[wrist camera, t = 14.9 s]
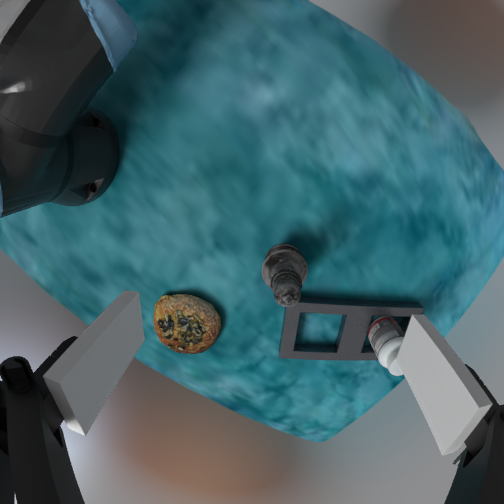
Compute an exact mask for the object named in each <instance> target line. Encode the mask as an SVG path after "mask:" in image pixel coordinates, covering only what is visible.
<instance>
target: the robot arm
mask: <svg viewBox="0 0 504 504" xmlns="http://www.w3.org/2000/svg"><path fill="white" fill-rule="evenodd" d="M137 38H138V32H137V28H136V26H135V24H134V23H133V21H132V20H131V18H130V17H129V16H128V14H127V13H126V12H125V11H124V10H123V8H122V7H121V6H120V5H119V4H118V3H117V2H116V1H115V0H0V218H2V217H4V216H7V215H10V214H13V213H16V212H19V211H22V210H25V209H28V208H31V207H34V206H37V205H40V204H43V203H46V202H52V203H57V204H61V205H65V206H80V205H83V204H87V203H90V202H92V201H94V200H96V199H97V198H98V197H100V196H101V195H102V194H103V193H104V192H105V191H106V189H107V188H108V187H109V185H110V183H111V181H112V179H113V177H114V175H115V172H116V169H117V164H118V158H119V145H118V138H117V135H116V131H115V129H114V127H113V125H112V123H111V122H110V120H109V119H108V118H107V117H106V116H105V115H104V114H102V113H100V112H99V111H96V110H93V109H87V108H86V107H87V105H88V104H89V102H90V101H91V100H92V98H93V97H94V96H95V94H96V93H97V92H98V90H99V89H100V88H101V87H102V85H103V84H104V83H105V82H106V80H107V79H108V78H109V77H110V75H111V74H112V73H115V72H116V70H117V66H118V65H119V64H120V62H121V61H122V60H123V59H124V57H125V56H126V55H127V54H128V53H129V51H130V50H131V49H132V48H133V47H134V45H135V43H136V41H137ZM144 340H145V338H144V331H143V323H142V315H141V307H140V297H139V292H134V291H127V290H125V291H124V292H123V293H122V294H121V295H120V296H119V297H118V298H116V299H115V300H114V301H113V302H112V303H111V304H110V305H109V306H108V307H107V308H106V309H105V310H104V311H103V312H102V313H101V314H100V315H99V317H98V318H97V319H96V320H95V321H94V322H93V323H92V324H91V325H90V326H89V327H88V328H87V329H86V330H85V331H84V332H83V333H82V334H81V335H80V336H79V337H75V336H73V337H71V338H69V339H67V340H65V341H64V342H63V343H61V345H60V346H59V347H58V348H57V350H55V351H54V352H53V353H52V354H51V356H49V357H48V358H47V359H46V360H45V361H44V362H43V363H42V364H41V365H40V367H39V368H38V369H37V370H36V371H35V372H34V373H33V371H32V369H31V366H30V364H29V362H28V360H26V359H25V358H23V357H20V356H14V357H10V358H8V359H6V360H4V361H3V362H2V363H1V364H0V376H1V378H2V380H3V381H0V504H14V495H15V494H16V500H17V504H85V503H84V500H83V498H82V495H81V492H80V489H79V487H78V484H77V481H76V478H75V475H74V471H73V468H72V465H71V462H70V458H69V455H68V451H67V447H66V443H65V439H64V435H63V431H62V429H61V426H60V425H61V423H62V422H63V420H65V422H66V424H67V426H68V428H69V429H71V430H73V431H75V432H77V433H80V434H82V435H85V436H86V434H87V433H88V431H89V429H90V427H91V426H92V424H93V422H94V421H95V419H96V417H97V416H98V414H99V412H100V411H101V409H102V407H103V406H104V404H105V402H106V400H107V399H108V397H109V396H110V394H111V393H112V391H113V389H114V387H115V386H116V384H117V383H118V381H119V380H120V378H121V376H122V375H123V373H124V372H125V370H126V368H127V367H128V365H129V364H130V362H131V360H132V359H133V357H134V356H135V354H136V353H137V351H138V350H139V348H140V347H141V345H142V344H143V342H144ZM396 360H397V362H398V364H399V366H400V368H401V370H402V372H403V374H404V376H405V378H406V379H407V381H408V383H409V385H410V387H411V389H412V391H413V393H414V395H415V397H416V399H417V401H418V403H419V406H420V408H421V410H422V412H423V414H424V416H425V418H426V420H427V422H428V424H429V427H430V429H431V431H432V433H433V436H434V438H435V440H436V442H437V445H438V447H439V449H440V452H441V454H442V456H443V455H446V454H450V453H452V452H456V451H457V450H458V449H459V448H460V446H461V445H462V444H463V443H464V442H465V444H466V446H467V447H466V448H465V450H464V451H463V452H462V453H461V454H460V455H459V456H458V457H457V459H456V460H455V461H454V463H453V464H456V463H457V461H459V460H460V463H459V464H458V469H457V472H456V475H455V478H454V480H453V483H452V486H451V489H450V491H449V494H448V496H447V498H446V501H445V503H444V504H504V405H500V406H499V404H498V403H497V402H496V400H495V399H494V397H493V396H492V394H491V393H490V391H489V390H488V389H487V387H486V386H485V385H484V383H483V382H482V380H481V379H479V376H478V375H477V374H476V372H475V371H474V370H473V369H472V368H470V367H469V366H468V365H466V364H464V363H463V362H462V361H461V359H460V358H459V357H458V355H457V354H456V353H455V351H454V350H453V349H452V348H451V346H450V345H449V344H448V343H447V341H446V340H445V339H444V338H443V336H442V335H441V334H440V333H439V331H438V330H437V329H436V328H435V327H434V325H433V324H432V323H431V322H430V321H429V319H428V318H427V317H426V316H425V315H412V317H411V320H410V323H409V326H408V328H407V331H406V334H405V337H404V339H403V342H402V345H401V347H400V350H399V353H398V355H397V358H396Z"/></svg>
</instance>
